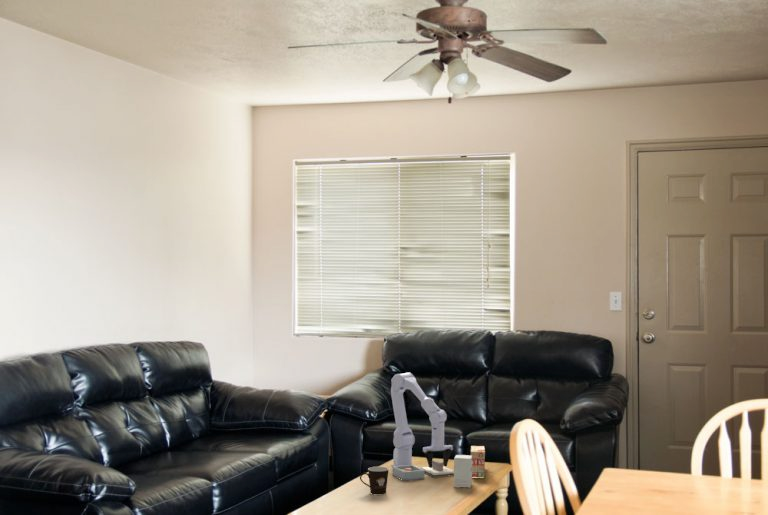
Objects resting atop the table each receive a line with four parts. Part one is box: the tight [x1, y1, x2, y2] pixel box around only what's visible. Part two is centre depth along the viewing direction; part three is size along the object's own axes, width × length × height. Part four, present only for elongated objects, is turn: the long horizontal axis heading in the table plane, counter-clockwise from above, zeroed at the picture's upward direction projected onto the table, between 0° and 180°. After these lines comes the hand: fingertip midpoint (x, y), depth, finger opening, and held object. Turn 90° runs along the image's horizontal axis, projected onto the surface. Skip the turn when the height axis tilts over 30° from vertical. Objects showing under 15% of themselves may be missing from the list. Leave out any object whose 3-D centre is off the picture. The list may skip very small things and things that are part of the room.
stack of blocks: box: [470, 445, 486, 478], centre depth 409 cm, size 21×6×12 cm, turn 174°
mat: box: [424, 471, 454, 478], centre depth 408 cm, size 14×12×1 cm
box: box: [392, 464, 425, 482], centre depth 400 cm, size 12×10×4 cm
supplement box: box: [453, 454, 473, 488], centre depth 385 cm, size 7×7×13 cm
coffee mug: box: [359, 466, 390, 495], centre depth 372 cm, size 12×9×10 cm
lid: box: [420, 459, 454, 475], centre depth 409 cm, size 13×11×5 cm
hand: (437, 466), depth 409 cm, fingers open, 7 cm apart
